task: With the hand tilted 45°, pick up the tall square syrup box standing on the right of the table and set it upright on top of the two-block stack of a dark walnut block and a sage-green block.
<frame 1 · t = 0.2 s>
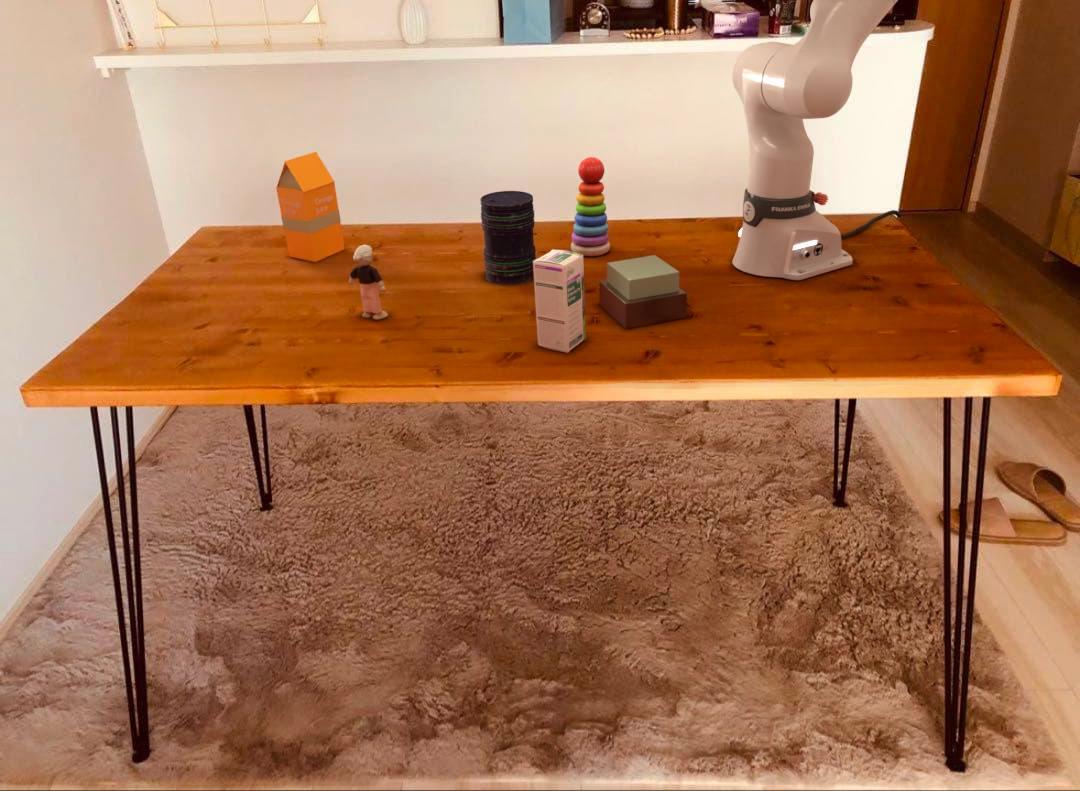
base block: (641, 311, 145), on the table, touching top block
dark blue cylinder: (511, 276, 162), on the table
orange juice: (317, 253, 178), on the table
grandmother figurine: (372, 316, 148), on the table
syrup box: (561, 344, 135), on the table
top block: (642, 286, 142), point 4 cm above the table, touching base block
stacking toy: (590, 252, 172), on the table
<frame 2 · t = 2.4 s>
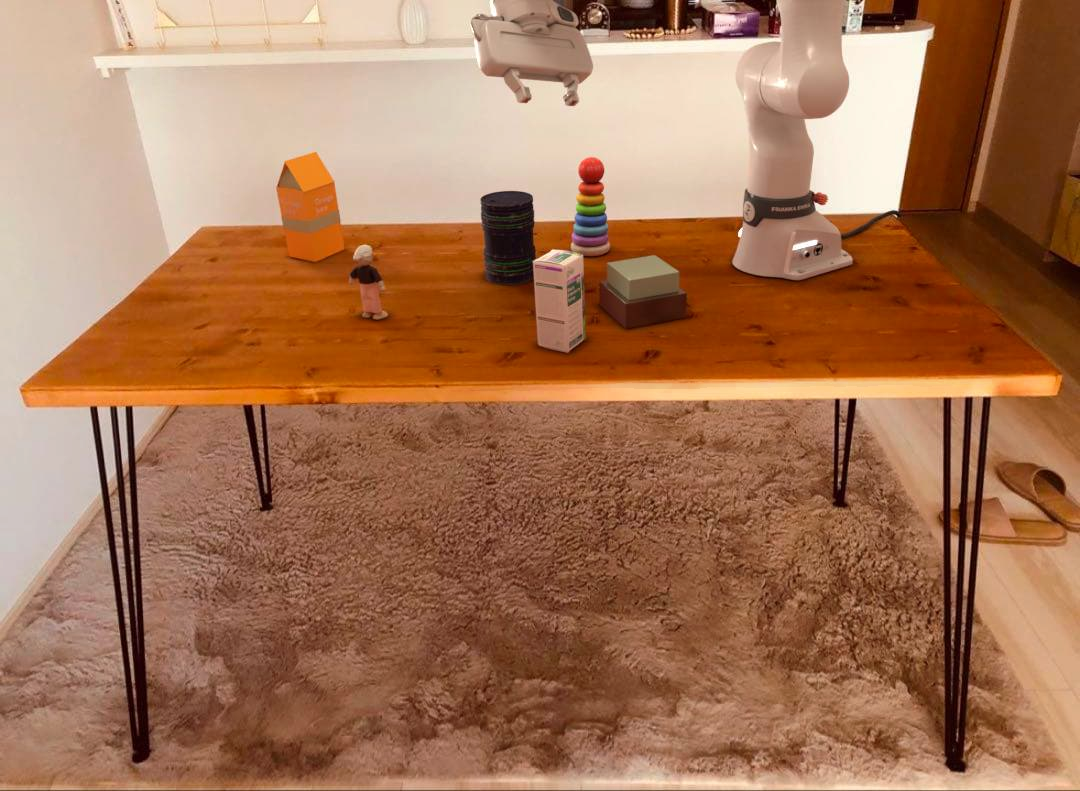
hand: (549, 102, 128), 35 cm above the table, tool tilted 40°, fingers open, 8 cm apart
nothing on the table moved.
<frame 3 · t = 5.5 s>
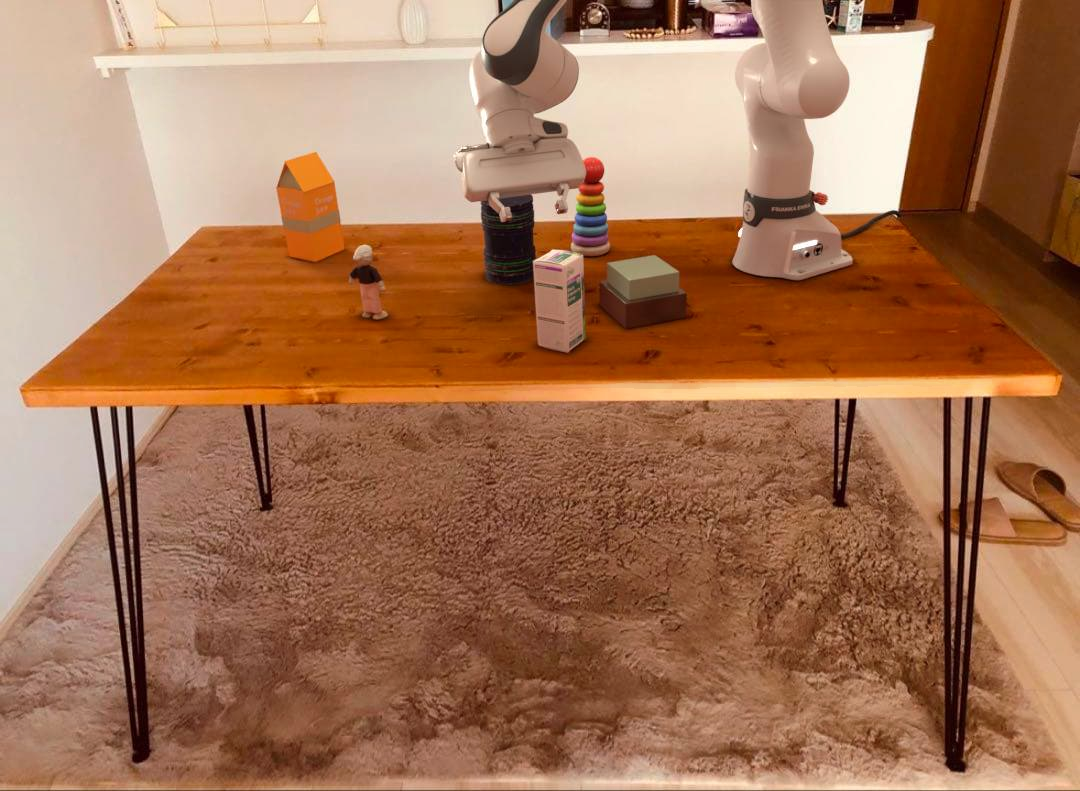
hand: (535, 216, 135), 18 cm above the table, tool tilted 45°, fingers open, 8 cm apart
nothing on the table moved.
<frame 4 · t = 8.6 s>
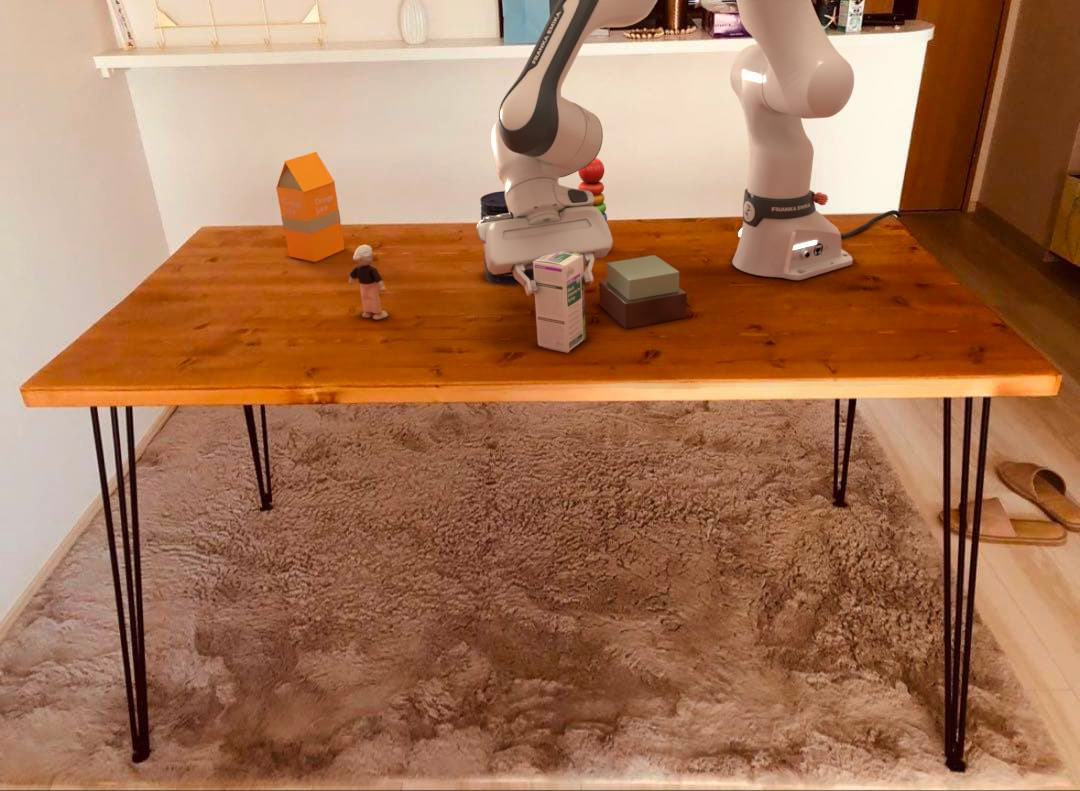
hand: (561, 288, 130), 9 cm above the table, tool tilted 45°, fingers closed on syrup box, 8 cm apart
syrup box: (561, 344, 135), on the table, touching gripper
everything else where it was.
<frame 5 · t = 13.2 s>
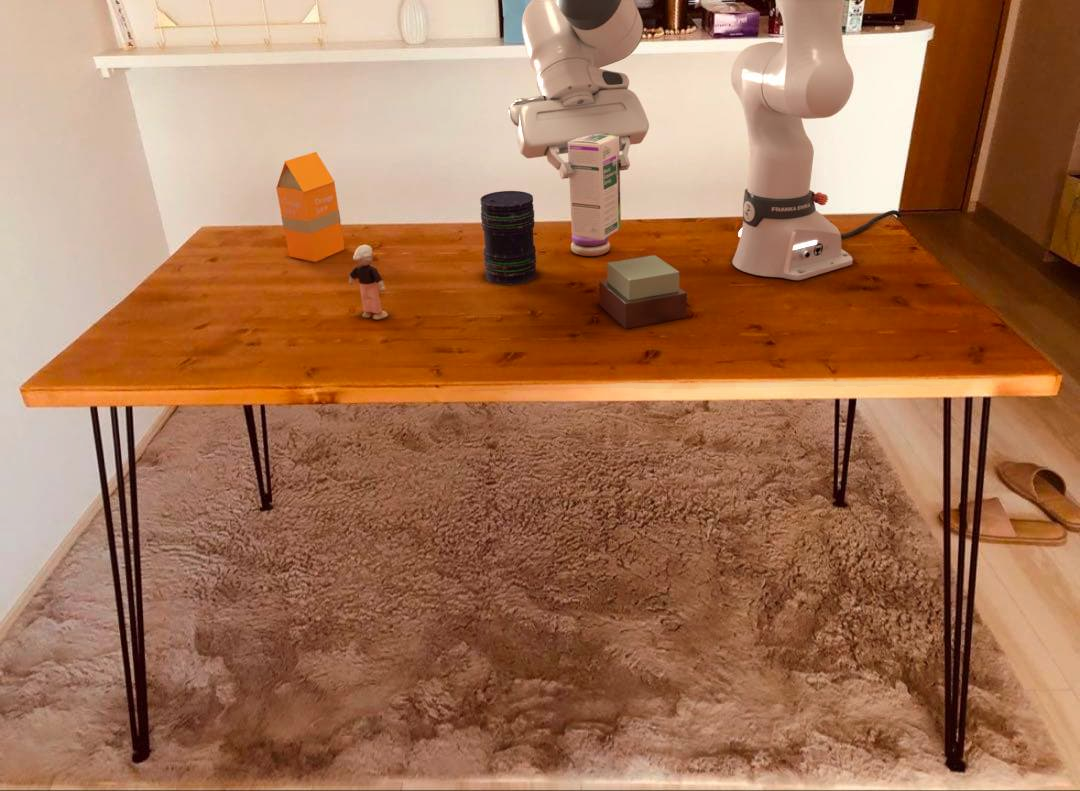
hand: (596, 172, 126), 26 cm above the table, tool tilted 45°, fingers closed on syrup box, 8 cm apart
syrup box: (595, 233, 131), point 16 cm above the table, touching gripper
everything else where it was.
when the fingers open (17 cm above the table, at t = 18.1 s): syrup box stays where it is, resting on top block.
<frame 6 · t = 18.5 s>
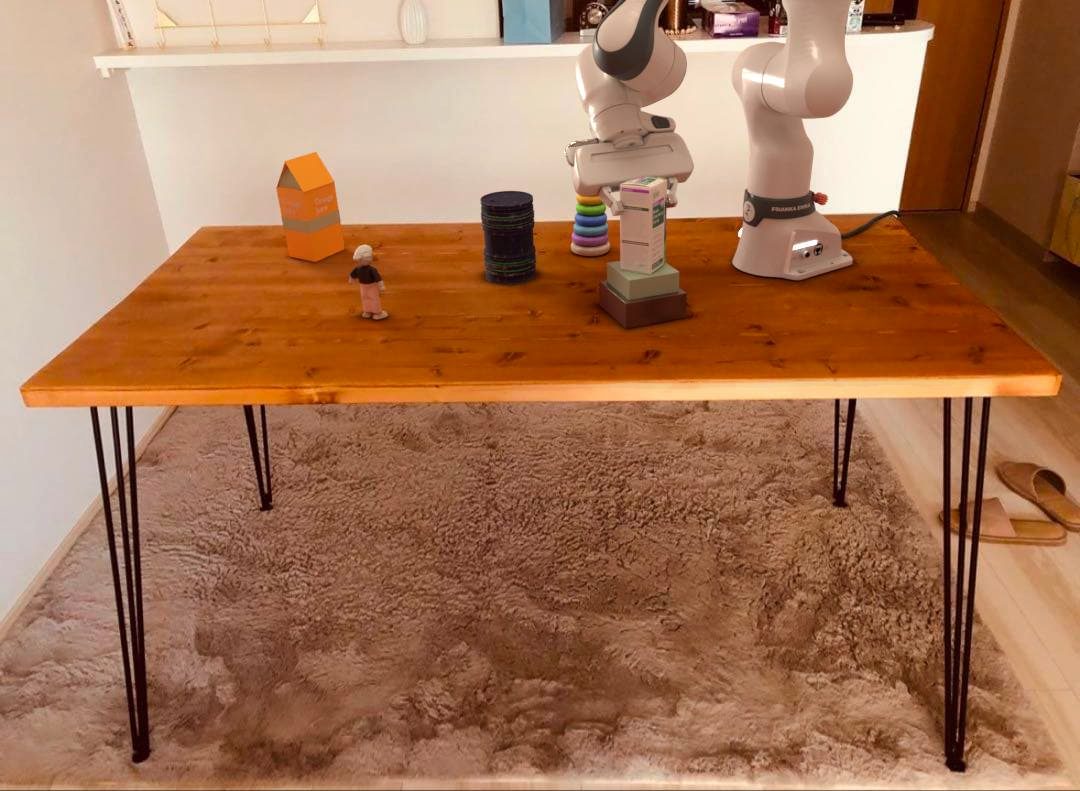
hand: (645, 210, 135), 18 cm above the table, tool tilted 45°, fingers open, 8 cm apart
syrup box: (642, 268, 141), point 8 cm above the table, touching top block
top block: (642, 286, 142), point 5 cm above the table, touching base block, syrup box
everything else where it was.
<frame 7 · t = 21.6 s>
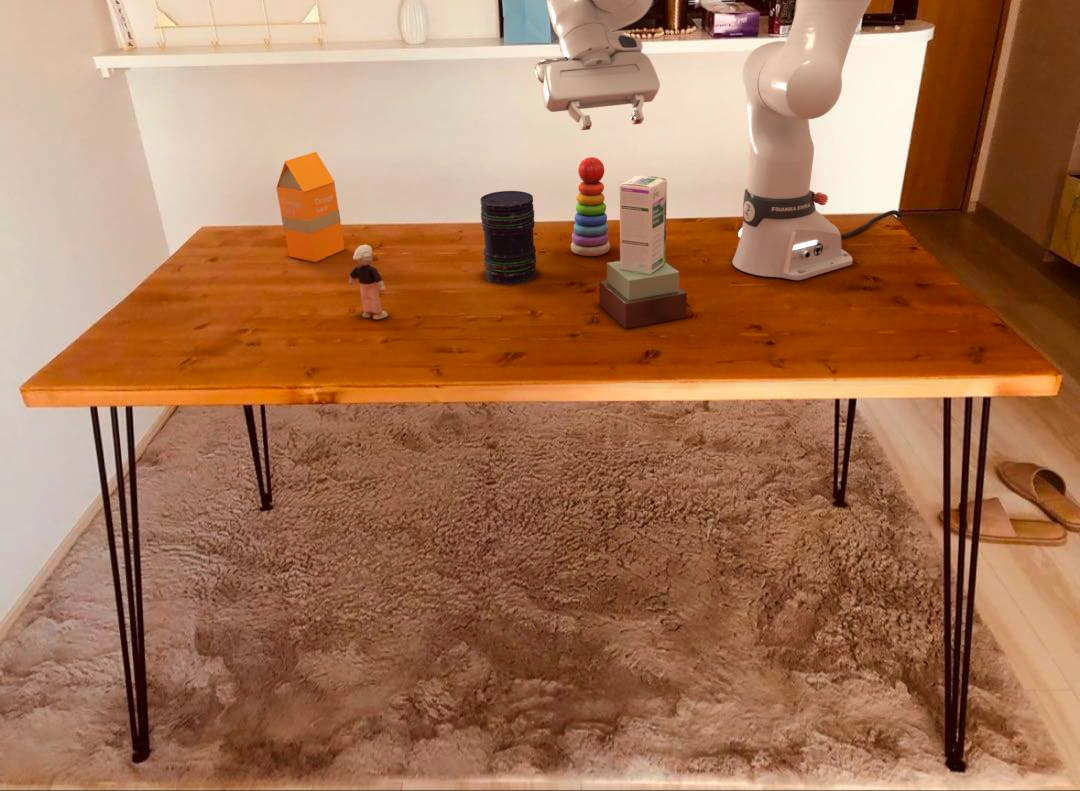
hand: (612, 125, 141), 29 cm above the table, tool tilted 45°, fingers open, 8 cm apart
nothing on the table moved.
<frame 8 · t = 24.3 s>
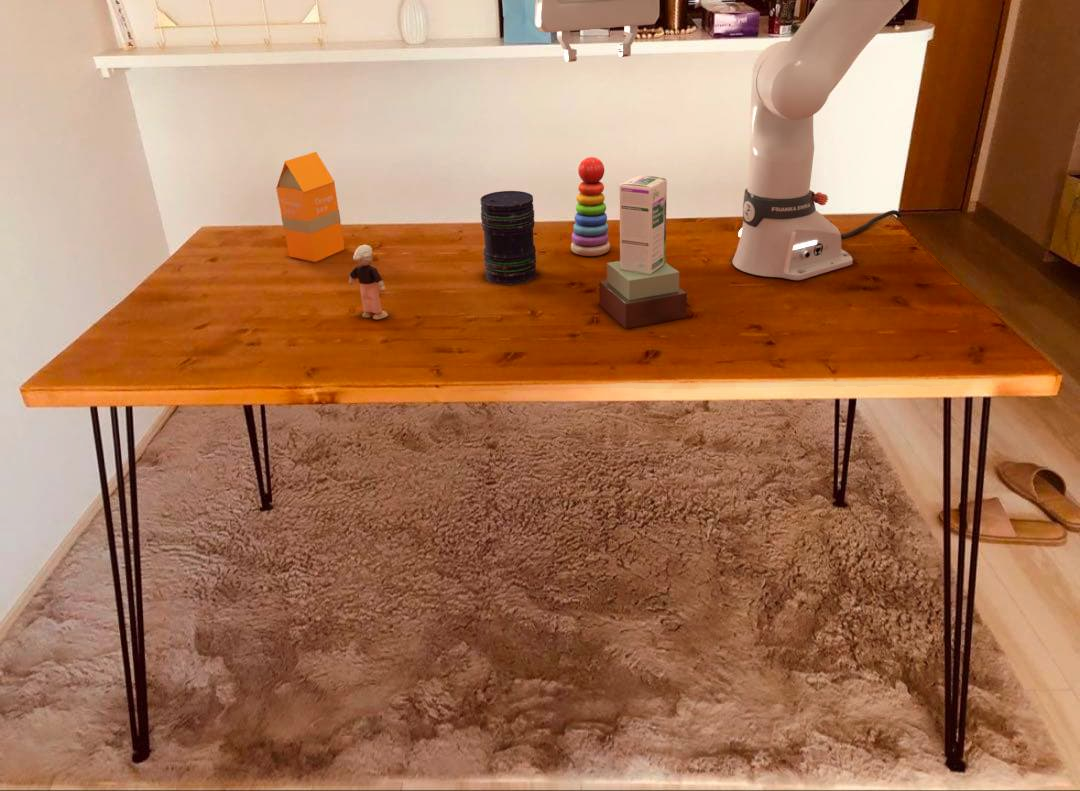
hand: (597, 58, 137), 39 cm above the table, tool pointing down, fingers open, 8 cm apart
nothing on the table moved.
at the end: syrup box 0.1 cm off-centre on the top block, point 3.3 cm above the top block's base; syrup box tilted 0°; top block 0.0 cm off-centre on the base block, point 4.5 cm above the base block's base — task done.
